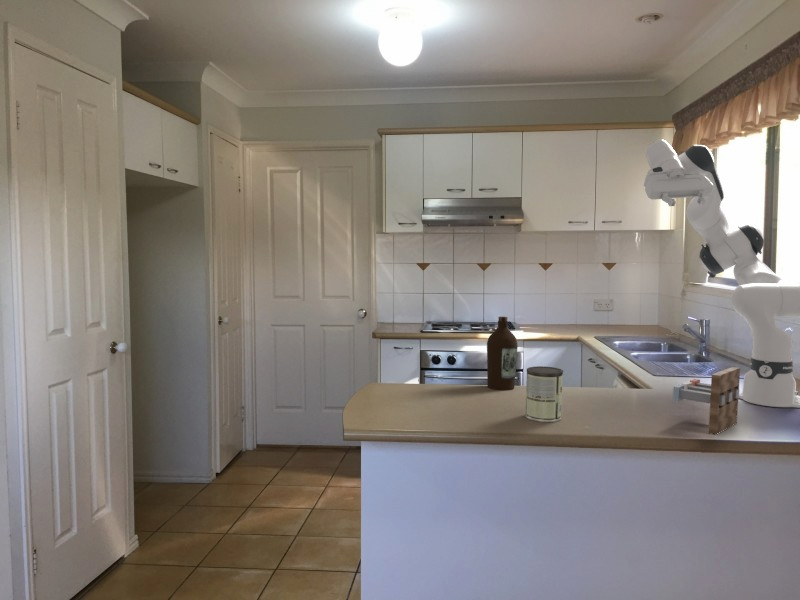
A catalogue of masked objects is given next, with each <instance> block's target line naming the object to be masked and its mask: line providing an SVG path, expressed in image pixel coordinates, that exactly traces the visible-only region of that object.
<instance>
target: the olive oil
mask: <svg viewBox="0 0 800 600" xmlns="http://www.w3.org/2000/svg"><path fill="white" fill-rule="evenodd" d="M497 318H498V320H497V328H496V329H495V330H494V331H493V332H492V333H491V334H490V335H489V336H488V338H487V343H486V355H487V356H486V363H487V365H486V366H487V367H486V368H487V383H486V384H487V388H489V389H492V390H497V391H510V390H511V391H512V390H513V389H515V387H516V386H515V385H516V384H515V382H516V376H517V371H516V369H517V356H518V347H519V346H518V341H517V337H515V335H514V334H513V332H512V331H511V330H510V329H509V328H508V323H509V322H508V316H498V317H497Z"/></svg>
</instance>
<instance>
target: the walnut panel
mask: <svg viewBox="0 0 800 600" xmlns="http://www.w3.org/2000/svg"><path fill="white" fill-rule="evenodd" d="M740 374H741V367H735V366H732V367H728V368H726V369H723V370H720V371H717V372H714V373H712V374H711V381H710V383H711V384H710V385H711V397H710V404H709V416H708V419H709V420H708V432H709V433H708V434H710V433H714V434H713V435H715V434H717V433H719V432H720V433H722V432H724V431H725V429H726V428H727V429H729V428H731V427H732V425H733V424H734V425H736V424H737V423H738V413H739V412H738V410H739V409H738V408H739V398H734V388H737V389H739V390H740V376H741V375H740ZM727 391H729V392H732V401H730V402H727ZM720 395H725V404H724V405H722V406H721V405H719V397H720ZM735 423H736V424H735ZM734 425H733V426H734ZM730 426H731V427H730ZM728 427H729V428H728ZM727 429H726V430H727ZM723 430H724V431H723ZM721 431H722V432H721ZM720 433H719V434H720ZM717 435H718V434H717Z"/></svg>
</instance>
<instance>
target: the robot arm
mask: <svg viewBox="0 0 800 600" xmlns="http://www.w3.org/2000/svg"><path fill="white" fill-rule="evenodd" d="M644 153H645V158H646V161H647V163H648V165H649V167H650V168H649V169H648V171H647V173H646V176H645V178H644V182H643V186H644V187H645V189H644V190H645V191H644V192H645V194H646V196H647V199H648V198H649V199H650V200H653V201H654V200H661V201H663V202H664V203H666V204H667V205H668V207H675V206H676V204H677V203H676V200H675V199H683V198H692V199H691V200H690V201H689V203H688V205H687V207H686V210H685V217H686V219H687V221H688V223H689V225H690V226H691V227H692V228H693V230H694V231H696V233H698V234H699V235H700V236H701V237H702V238H703V239H704V241H705V243H706V244H705V245H704V244H703V243H702V244H701V249H700V251H699V260H700V263H701V266H702V268H704V270H706V271H707V272H709V273H711V275H712V274H713V275H718V274H721V273H723V272H725V270H728V269H729V268H732V267H733V266H734V267H733V275H734V278H735V280H736V283H737V285H738V286H737V287H736V288H734V290H733V292H732V293H731V295H730V296H731V297H730V303H731V306H732V309H733V310H734V311H735V312H736V314H738V315H739V316H740V317H741V318H743V319H744V320H745V322H746V323H747V325H748V326H749V329H750V332H751V337H752V350H751V351H752V353H751V358H750V360H749V369H750V370H749V371H748V372H746V373H745V374H744V375H743V376H744V378H743V385H742V393H739V397H738V399H741V400H743V401H745V402H747V403H750V404H755V405H758V406H766V407H772V408H773V407H774V408H798V409H799V408H800V395H799V391H797V390H796V389H797V388H796V387H797V382H796V379H795V377H794V375H793V372H794V370H793V369H794V365H793V364H794V362H793V360H792V355H793V354H792V353H793V338H792V336H791V335H790V333H788V331H786V330H784V329H782V328H780V327H778V326H777V325H776V323H775V318H779V319H780V318H782V319H783V318H784V319H800V283H799V282H796V281H793V280H791V279H788V278H786V277H783V276H781V275H778V274H777V273H775V272H774V271H773V270H772V269H771V268H770V267H769V266H768V265H767V264H766V263H765V262H763V261H761V260H760V259H759V257H757V255H758V254H760V255H762V253H763V251H762V249H763V248H764V243H765V239H764V237H763V233H762V231H761V230H760V229H759V228H758V227H757V226H755V225H753V224H752V223H748V222H746V223H743V224H740V225H737V227H736V228H734V229H733V230H731V231H729V222H728V220H727V218H726V216H725V213H724V212H723V210H722V209H721V204H722V201H723V200H724V198H725V197H724V191H723V187H722V184H721V180H720V177H719V175H718V172H717V169H716V165H715V159H714V155H713V153H712V152H711V150H710V149H709V148H708V147H707V146H706V145H703V144H693V145H691V146H690V147H689V148H687V149H686V150H685V151H684V152H682V153H680V154H679V155H678V154H677V153H676V151H675V150H674V149H673V147H672V146H671V144H670V143H668V142H667V141H666V140H664V139H657V140H655V141H653V142H652V143H650V144H649V145H648V146H647V147H646V149H645V152H644ZM728 231H729V232H728Z"/></svg>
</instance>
